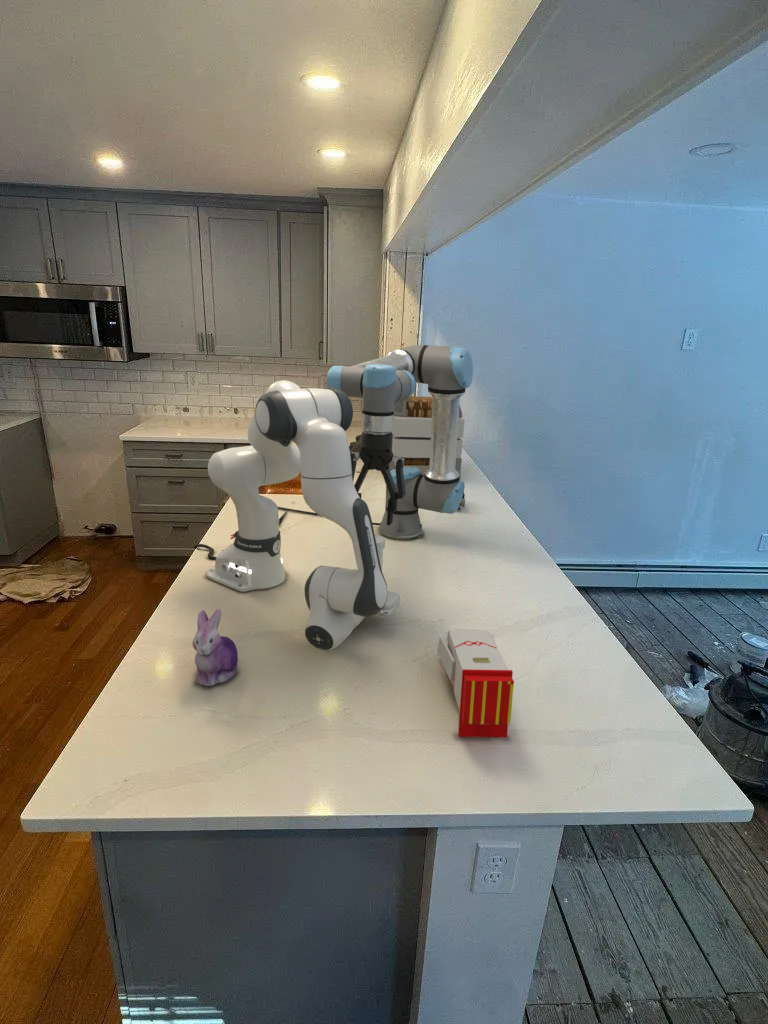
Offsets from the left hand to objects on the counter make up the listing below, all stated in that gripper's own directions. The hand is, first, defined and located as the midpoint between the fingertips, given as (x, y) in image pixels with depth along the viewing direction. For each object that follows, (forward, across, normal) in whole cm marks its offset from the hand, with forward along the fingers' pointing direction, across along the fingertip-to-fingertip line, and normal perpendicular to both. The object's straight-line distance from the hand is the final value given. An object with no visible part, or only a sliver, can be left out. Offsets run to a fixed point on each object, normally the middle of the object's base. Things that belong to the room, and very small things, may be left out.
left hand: (372, 583), depth 150 cm
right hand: (-1, 0, -18) cm, 18 cm away
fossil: (+148, +73, +6) cm, 165 cm away
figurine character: (+89, +2, +6) cm, 89 cm away
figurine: (-43, +17, +6) cm, 46 cm away
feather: (+48, +56, +6) cm, 74 cm away
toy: (-25, -33, +6) cm, 42 cm away
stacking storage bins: (+128, +31, +6) cm, 132 cm away
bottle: (-1, 0, +6) cm, 6 cm away
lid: (-1, 0, -13) cm, 13 cm away
